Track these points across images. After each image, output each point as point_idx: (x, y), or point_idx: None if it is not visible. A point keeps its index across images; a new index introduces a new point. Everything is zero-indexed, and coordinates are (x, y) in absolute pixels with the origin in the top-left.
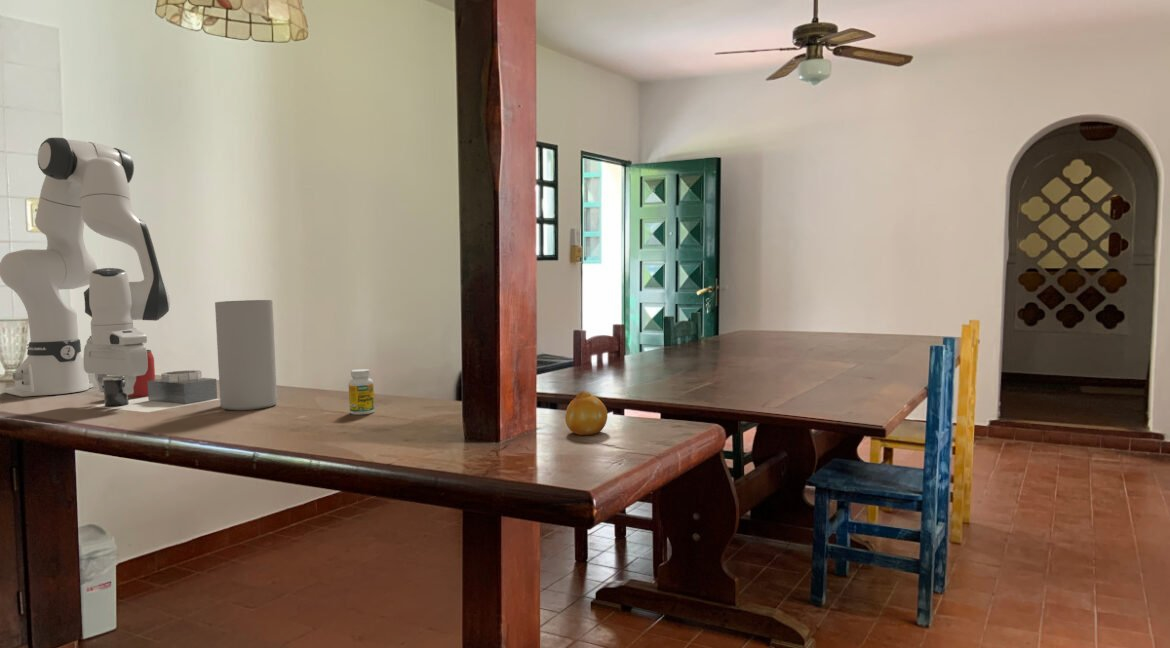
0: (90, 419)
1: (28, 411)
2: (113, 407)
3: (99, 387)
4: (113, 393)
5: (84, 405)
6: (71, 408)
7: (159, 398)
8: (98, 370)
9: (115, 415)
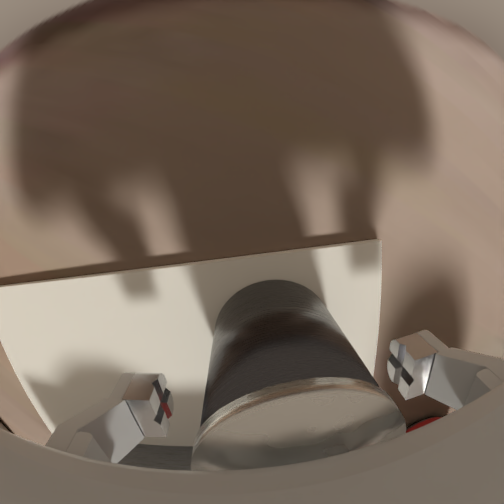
0: (28, 102)
1: (485, 79)
2: (206, 290)
3: (435, 341)
4: (219, 344)
5: (459, 261)
6: (441, 186)
7: (191, 456)
8: (487, 419)
9: (25, 205)
